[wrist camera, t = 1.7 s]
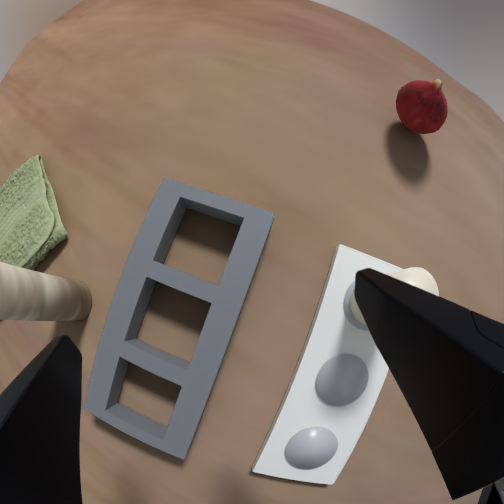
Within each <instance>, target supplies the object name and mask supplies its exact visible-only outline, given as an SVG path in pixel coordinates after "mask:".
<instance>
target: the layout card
mask: <svg viewBox="0 0 504 504" xmlns="http://www.w3.org/2000/svg"><path fill="white" fill-rule="evenodd" d="M366 268H371V269H374V270H376V271H379V272H381V273H384V274H386V275H389V276H391V277H394V278H396V279H399V280H401V281H403V282H406V283H408V284H411V285H413V286H416V287H418V288H420V289H423V290H425V291H427V292H430V293H432V294H435V295H437V296H439V291H438V287H437V284H436V282H435V280H434V278H433V277H432V275H431V274H430V273H429V272H428V271H426V270H425V269H423V268H420V267H411V268H408V269H405V270H404V269H402V268H399V267H397V266H395V265H392V264H390V263H387V262H385V261H382V260H380V259H377V258H375V257H372V256H370V255H367V254H364V253H362V252H359V251H357V250H354V249H352V248H349V247H346V246H344V245H341V244H339V245H337V246H336V248H335V252H334V255H333V258H332V262H331V265H330V269H329V272H328V275H327V279H326V282H325V285H324V288H323V291H322V295H321V298H320V301H319V304H318V307H317V310H316V313H315V316H314V319H313V322H312V325H311V327H310V330H309V333H308V336H307V339H306V341H305V344H304V347H303V350H302V352H301V355H300V358H299V360H298V363H297V366H296V368H295V371H294V373H293V376H292V378H291V381H290V383H289V386H288V388H287V391H286V393H285V395H284V398H283V400H282V403H281V405H280V407H279V410H278V412H277V414H276V417H275V419H274V421H273V423H272V426H271V428H270V430H269V432H268V434H267V436H266V439H265V441H264V443H263V445H262V447H261V449H260V451H259V453H258V455H257V457H256V459H255V461H254V463H253V465H252V472H256V473H261V474H265V475H270V476H275V477H280V478H285V479H291V480H298V481H304V482H312V483H321V484H331V485H333V484H334V482H335V480H336V479H337V477H338V475H339V474H340V472H341V470H342V469H343V467H344V465H345V463H346V462H347V460H348V458H349V456H350V454H351V453H352V451H353V449H354V447H355V445H356V443H357V441H358V439H359V437H360V435H361V433H362V431H363V429H364V427H365V425H366V423H367V421H368V418H369V416H370V414H371V412H372V410H373V407H374V405H375V403H376V400H377V398H378V395H379V393H380V390H381V388H382V385H383V383H384V380H385V378H386V375H387V372H388V369H389V367H388V366H387V364H386V362H385V360H384V358H383V357H382V355H381V353H380V351H379V350H378V348H377V346H376V344H375V342H374V340H373V338H372V336H371V334H370V332H369V329H368V327H367V325H366V322H365V320H364V318H363V316H362V314H361V311H360V309H359V307H358V305H357V303H356V300H355V296H354V290H355V275H356V272H357V271H359V270H362V269H366Z"/></svg>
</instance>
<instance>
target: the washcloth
mask: <svg viewBox="0 0 504 504" xmlns="http://www.w3.org/2000/svg"><path fill="white" fill-rule="evenodd" d="M67 235H68V232H66V230H65V228H64V226H63V224H62V222H61V219H60V215H59V212H58V207H57V203H56V199H55V195H54V192H53V189H52V187H51V185H50V183H49V181H48V178H47V175H46V172H45V169H44V166H43V160H42V157H41V156H40V155H37V156H36V157H34V158H30V159H29V160H28V161H26V163H25V164H23V165H22V166H20V167H19V168H18V169H17V170H16V171H14V172H13V173H12V174H11V175H10V177H9V178H8V180H7V181H6V182H5V184H4V185H3V186H2V187H1V189H0V262H3V263H6V264H10V265H14V266H18V267H21V268H25V269H29V270H33V271H34V270H35V267H37V266H38V264H39V261H42V260H43V259H44V258H45V256H46V255H47V252H49V250H51V249H54V247H55V245H57V244H58V243H59V242H61V241H64V240H65V237H66V236H67Z"/></svg>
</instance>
